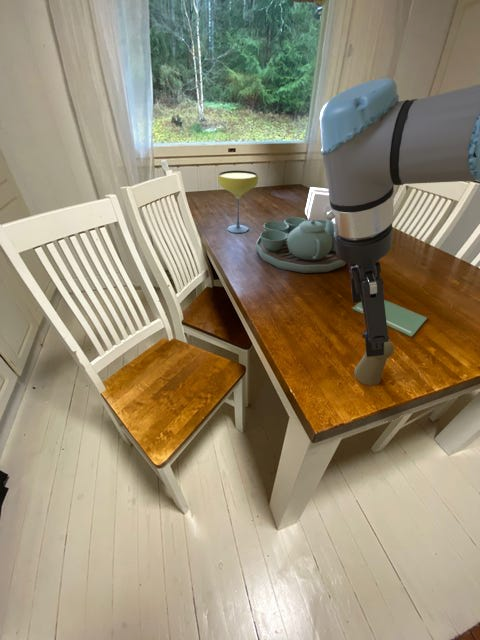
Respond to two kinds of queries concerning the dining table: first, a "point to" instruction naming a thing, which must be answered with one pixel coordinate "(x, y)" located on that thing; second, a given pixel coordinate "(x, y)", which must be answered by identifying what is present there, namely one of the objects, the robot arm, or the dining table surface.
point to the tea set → (299, 245)
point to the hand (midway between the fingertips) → (366, 325)
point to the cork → (373, 366)
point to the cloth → (399, 318)
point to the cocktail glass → (238, 190)
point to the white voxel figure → (317, 204)
